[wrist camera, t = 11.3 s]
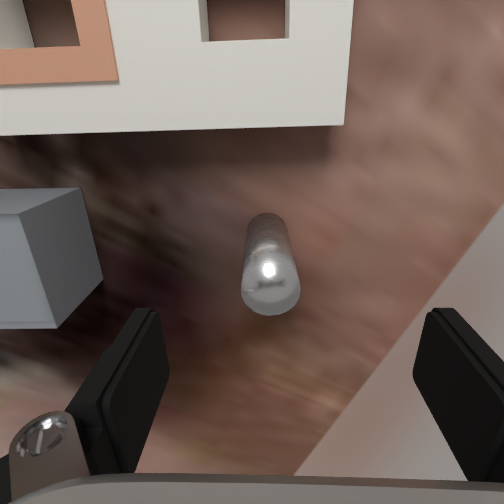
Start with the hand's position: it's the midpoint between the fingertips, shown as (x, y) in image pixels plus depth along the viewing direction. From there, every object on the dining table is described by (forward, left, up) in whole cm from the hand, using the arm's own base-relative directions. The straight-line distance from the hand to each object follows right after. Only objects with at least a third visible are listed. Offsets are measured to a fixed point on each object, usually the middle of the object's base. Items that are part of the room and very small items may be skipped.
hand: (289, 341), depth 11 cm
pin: (0, +1, -12) cm, 12 cm away
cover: (0, +17, -12) cm, 20 cm away
